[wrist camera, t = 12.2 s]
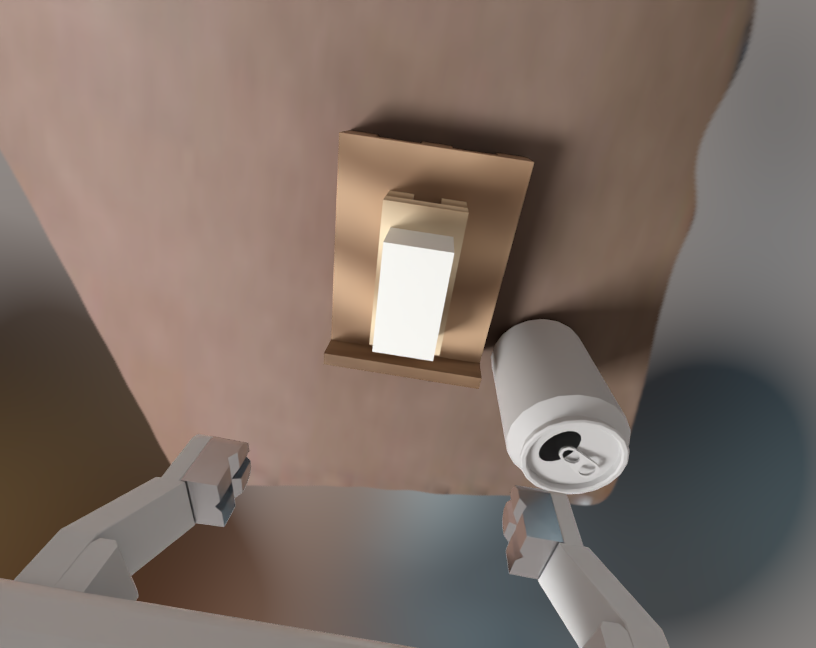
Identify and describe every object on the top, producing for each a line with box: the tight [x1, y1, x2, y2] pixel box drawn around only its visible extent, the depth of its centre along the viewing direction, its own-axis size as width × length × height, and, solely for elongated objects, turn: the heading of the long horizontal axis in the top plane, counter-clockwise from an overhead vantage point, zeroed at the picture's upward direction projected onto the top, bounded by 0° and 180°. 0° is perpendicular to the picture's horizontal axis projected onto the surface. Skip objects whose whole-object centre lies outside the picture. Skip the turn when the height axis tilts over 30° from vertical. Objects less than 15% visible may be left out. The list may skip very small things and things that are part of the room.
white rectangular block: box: [372, 227, 454, 361], centre depth 23 cm, size 7×4×3 cm, turn 173°
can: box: [491, 319, 631, 494], centre depth 28 cm, size 8×8×12 cm
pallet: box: [369, 191, 469, 355], centre depth 26 cm, size 10×5×3 cm, turn 173°
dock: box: [324, 130, 534, 389], centre depth 28 cm, size 16×12×5 cm
